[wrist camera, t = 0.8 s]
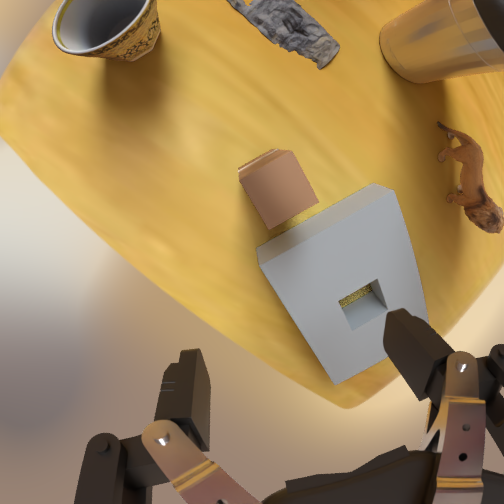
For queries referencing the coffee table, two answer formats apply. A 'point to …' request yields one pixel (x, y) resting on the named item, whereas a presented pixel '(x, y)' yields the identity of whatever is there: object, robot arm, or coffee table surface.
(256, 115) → the coffee table surface
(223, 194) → the coffee table surface
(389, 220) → the grey rectangular block
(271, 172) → the walnut peg
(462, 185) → the lion figurine
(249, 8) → the driftwood
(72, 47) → the ceramic cup
